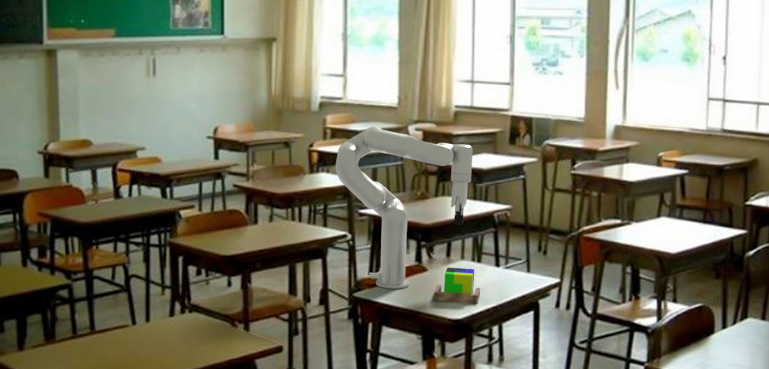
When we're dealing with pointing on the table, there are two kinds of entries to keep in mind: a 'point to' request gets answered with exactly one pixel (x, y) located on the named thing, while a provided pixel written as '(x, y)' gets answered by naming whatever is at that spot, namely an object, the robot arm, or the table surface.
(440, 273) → the table surface
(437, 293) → the base frame
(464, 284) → the puzzle toy
